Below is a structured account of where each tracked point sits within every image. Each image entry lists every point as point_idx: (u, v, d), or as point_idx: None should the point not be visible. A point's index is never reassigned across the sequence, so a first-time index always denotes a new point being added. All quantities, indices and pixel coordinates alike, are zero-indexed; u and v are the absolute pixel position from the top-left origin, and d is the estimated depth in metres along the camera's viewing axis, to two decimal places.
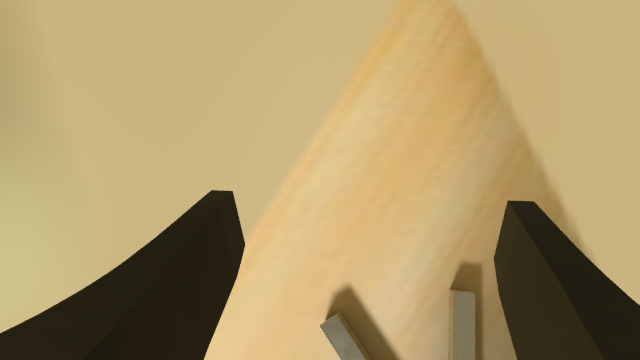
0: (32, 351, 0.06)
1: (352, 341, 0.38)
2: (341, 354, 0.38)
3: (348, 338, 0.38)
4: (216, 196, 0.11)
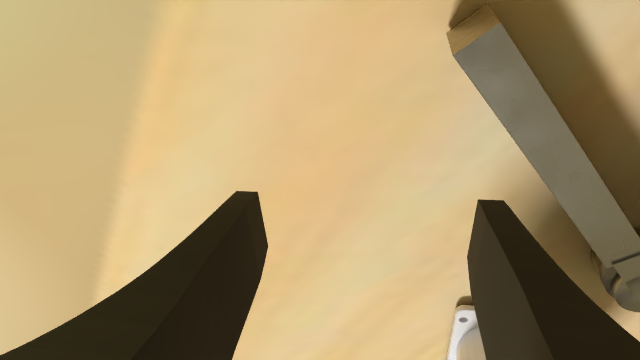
0: (74, 355, 0.06)
1: (535, 82, 0.15)
2: (503, 112, 0.16)
3: (525, 78, 0.15)
4: (242, 197, 0.11)
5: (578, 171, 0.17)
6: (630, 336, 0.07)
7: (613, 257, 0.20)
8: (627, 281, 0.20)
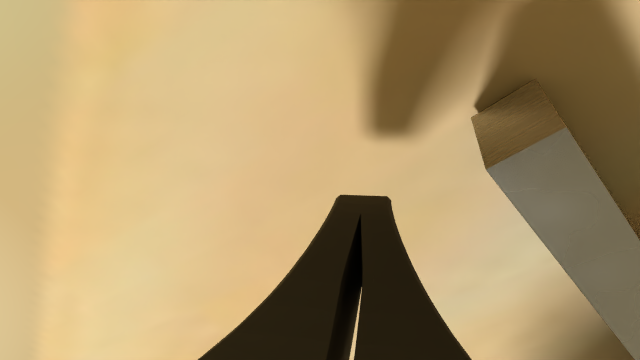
0: None
1: (614, 210, 0.10)
2: (559, 245, 0.11)
3: (598, 204, 0.10)
4: (351, 200, 0.11)
5: None
6: (438, 321, 0.07)
7: None
8: None
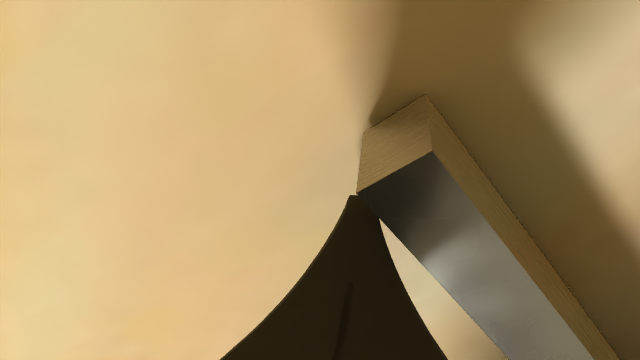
0: None
1: (495, 239, 0.09)
2: (444, 274, 0.10)
3: (478, 233, 0.09)
4: (363, 201, 0.11)
5: (563, 354, 0.11)
6: (415, 319, 0.07)
7: None
8: None
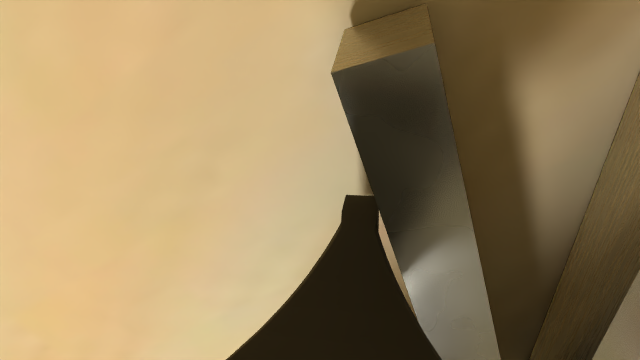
0: None
1: (456, 173, 0.08)
2: (389, 201, 0.09)
3: (442, 160, 0.08)
4: (367, 201, 0.11)
5: (468, 318, 0.11)
6: (409, 319, 0.07)
7: None
8: None
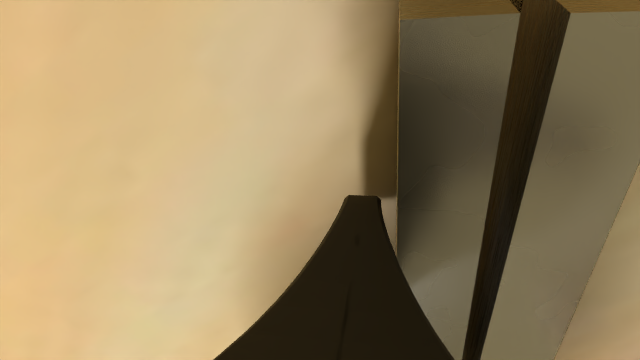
0: None
1: (489, 159, 0.08)
2: (411, 175, 0.09)
3: (481, 142, 0.08)
4: (360, 201, 0.11)
5: (447, 309, 0.11)
6: (421, 320, 0.07)
7: None
8: None
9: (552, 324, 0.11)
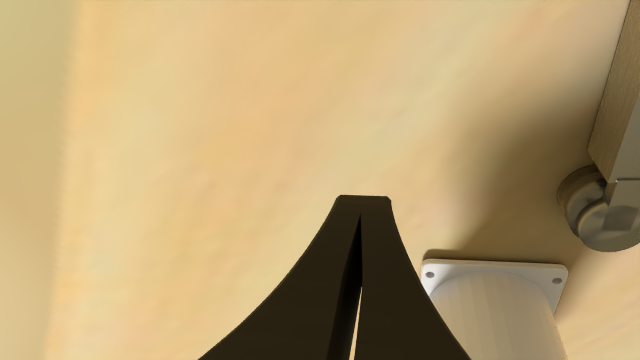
0: None
1: None
2: None
3: None
4: (351, 200, 0.11)
5: None
6: (438, 321, 0.07)
7: (625, 172, 0.18)
8: (612, 205, 0.18)
9: None
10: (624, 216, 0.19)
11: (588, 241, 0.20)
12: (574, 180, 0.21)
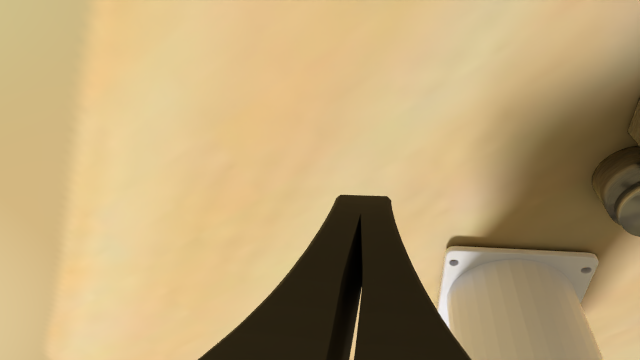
0: None
1: None
2: None
3: None
4: (351, 200, 0.11)
5: None
6: (438, 321, 0.07)
7: None
8: None
9: None
10: None
11: (628, 225, 0.19)
12: (612, 163, 0.20)
